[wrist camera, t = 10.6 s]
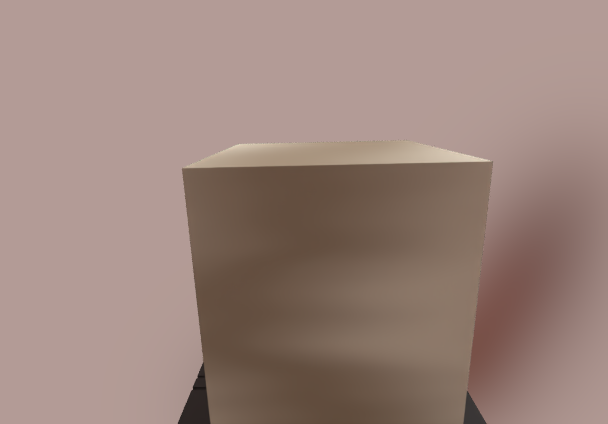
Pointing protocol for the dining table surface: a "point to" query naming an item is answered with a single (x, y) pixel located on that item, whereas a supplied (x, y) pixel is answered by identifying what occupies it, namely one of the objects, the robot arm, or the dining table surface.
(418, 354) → the peg
